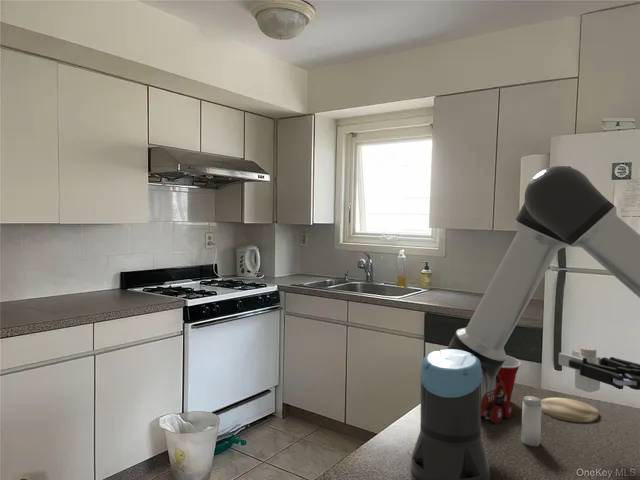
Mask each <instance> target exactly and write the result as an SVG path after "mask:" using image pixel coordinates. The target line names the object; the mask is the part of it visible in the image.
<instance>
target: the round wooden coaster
mask: <svg viewBox="0 0 640 480" xmlns="http://www.w3.org/2000/svg"><path fill="white" fill-rule="evenodd" d="M540 400H541V404H542V411H541V413H544V414H545V415H547V416H550V417H552V418H554V419H558V420H562V421H565V422H573V423H591V422H594V421H597V420H598V419H599V416H600V415H599V413H600V411H599V410H598V409H597V408H596V407H594V405H591V404H589V403H586V402H584V401H580V400H577V399H571V398H566V397H546V398H542V399H540Z"/></svg>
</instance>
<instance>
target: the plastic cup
mask: <svg viewBox="0 0 640 480" xmlns="http://www.w3.org/2000/svg"><path fill="white" fill-rule="evenodd" d="M521 365H522V362H521V360H519V359H517V358H516V357H513V356H511V355H507V354H506V359H505V361H504V363H503V365H502V366H501V368H500V370H499V372H498V373H497V374H498V375H500V377H501V380H502V381H503V382H504V385H505V389H506V392H507V401H509V402H511V399H512V394H513V390H514V385H515V383H516V382H515V381H516V378H517V377H516V376H517V373H518V370H519V368H520V367H521Z"/></svg>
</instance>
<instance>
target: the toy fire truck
mask: <svg viewBox="0 0 640 480" xmlns="http://www.w3.org/2000/svg"><path fill="white" fill-rule="evenodd" d="M513 414H514V404H513V402H511V401H510V402H509V401H507V392H506V389H505V385H504V382H503V381H502V380H501V377H500V375H498V374H497V375H496V378H495V380H494V382H493V384H492V386H491V387H490V388H489V389H488V391H487V393H486V395H485V397H484V398H483V400H482V403H481V417H489V419H490V421H491V422H492V423H494V424H499V423H501V422H502V419H503V417H504V418H507V419H511V417H512V415H513Z"/></svg>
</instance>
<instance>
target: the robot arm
mask: <svg viewBox="0 0 640 480" xmlns="http://www.w3.org/2000/svg"><path fill="white" fill-rule="evenodd" d="M523 201H524V202H523V204H522V206H521V208H520V210H519V212H518V214H517V216H516V218H515V220H514V224H515V226H516V231H517V232H516V234H515V236H514V237H513V239H512V242H511V244H510V245H509V247H508V249H507V251H506V252H505V255H504V256H503V258H502V260H501V262H500V263H499V266H498V268H497V269H496V272H495V273H494V274H493V277H492V279H491V281H490V282H489V284H488V287H487V288H486V290H485V292H484V294H483V296H482V298H481V300H480V302H479V303H478V306H477V307H476V309H475V311H474V312H473V315H472V317H471V318H470V320H469V322H468V324H467V325H466V327H462V328H458V329H457V330H456V331H455V333H454V335H453V337H452V339H451V341H450V342H449V344H448V346H447V348H444V349H439V350H434V351H431V352H429V353H427V354H426V355H425V356H424V357H423V359H422V362H421V366H420V371H419V372H420V373H419V374H420V375H419V378H420V379H419V381H420V431H419V433H418V437H417V439H416V442H415V445H414V449H413V451H412V454H411V459H410V460H411V461H410V465H411V466H410V470H411V472H412V474H413V476H415V478H416V479H417V480H490V471H491V470H490V464H489V461H488V457H487V455H486V450H485V448H484V444H483V441H482V437H481V436H482V434H481V433H482V432H481V428H482V425H481V424H482V416H481V403H482V400H483V398H484V397H485V395H486V393H487V391H488V389H489V388H490V387H491V386H492V384H493V382H494V380H495V378H496V375H497V373H498V372H499V370H500V368H501V366H502V365H503V363H504V361H505V359H506V355H507V354H506V351H505V348H504V347H505V346H506V344H507V342H508V340H509V338H510V337H511V335H512V333H513V331H514V330H515V328H516V326H517V324H518V322H520V318H521V317H522V315H523V314H524V312H525V310H526V308H527V307H528V304H529V303H530V301H531V299H532V297H533V296H534V294H535V292H536V290H537V288H538V287H539V286H540V283H541V282H542V280H543V278H544V276H545V275H546V272H547V271H548V269H549V268H550V265H551V264H552V262H553V260H554V258H555V256H556V255H557V253H558V251H559V250H561V249H564V248H568V247H572V248H582V250H584V251H585V252H586V253H587V254H589V256H591V257H592V258H593V259H594V260H595V261H596V262H598V263H599V264H600V265H601V266H602V267H603V268H604V269H605V270H607V271H608V272H609V273H611V275H613V276H614V278H616V279H617V280H618V281H620V283H622V284H623V285H624V286H625V287H626V288H628V290H630V291H631V292H632V293H633V294H635V295H636V296H637V297H638V298H639V299H640V234H639V233H638V232H637V231H636V230H635V229H633V228H632V227H631V226H630V225H628V223H626V221H624V220H623V219H622V218H620V217H619V216H618V213H617V206H616V205H614V204H613V202H611V201H610V200H608V199H607V198H606V197H605V196H604V195H603V194H602V193H601V192H600V191H599V190H598V189H597V188H596V186H595V185H593V183H592V182H591V181H590V179H589V178H588V177H587V176H586V175H585V174H584V173H583V172H581V171H580V170H578V169H576V168H574V167H572V166H571V167H570V166H566V165H565V166H564V165H557V166H551V167H548V168H545V169H543V170H540V171H539V172H537V174H535V175H533V177H532V178H531V180H530V181H529V182H528V184H527V186H526V189H525V192H524V199H523ZM596 362H597V363H599V364H600V365H599V364H595V363H590V362H587V358H583V359H582V358H581V356H580V350H579V351H578V350H572V355H571V354H567V353H563V352H558V365H560V366H562V367H566V368H569V369H572V370H574V371H575V370H578V371H580V375H582V376H585V377H588V378H591V379H594V380H597V381H600V383H603V384H605V385H610V386H612V387H614V388H615V389H618V390H624V386H625V387H628V388H629V389H632V390H636V391H640V363H636V362H632V361H628V360H624V359H620V358H617V357H614V356H611V357H606V356H605V357H601V356H597V355H596Z"/></svg>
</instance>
